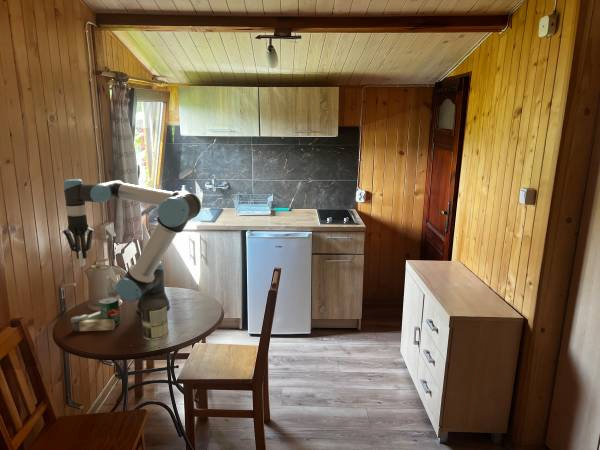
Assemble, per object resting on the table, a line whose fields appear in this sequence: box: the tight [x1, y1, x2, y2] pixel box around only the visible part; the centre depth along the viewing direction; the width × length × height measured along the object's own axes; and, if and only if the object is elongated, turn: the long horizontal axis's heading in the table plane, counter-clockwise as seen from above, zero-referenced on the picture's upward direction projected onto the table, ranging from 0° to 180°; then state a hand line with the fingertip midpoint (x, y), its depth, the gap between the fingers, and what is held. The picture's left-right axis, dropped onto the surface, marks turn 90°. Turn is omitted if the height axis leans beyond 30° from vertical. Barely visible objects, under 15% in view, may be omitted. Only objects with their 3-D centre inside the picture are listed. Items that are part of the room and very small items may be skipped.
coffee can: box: [140, 299, 169, 341], centre depth 182 cm, size 10×10×14 cm
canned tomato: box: [98, 296, 122, 326], centre depth 193 cm, size 8×8×11 cm
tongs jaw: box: [70, 310, 101, 324], centre depth 192 cm, size 18×4×5 cm, turn 144°
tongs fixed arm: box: [71, 319, 116, 332], centre depth 188 cm, size 17×3×4 cm, turn 94°
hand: (82, 265), depth 197 cm, fingers closed
